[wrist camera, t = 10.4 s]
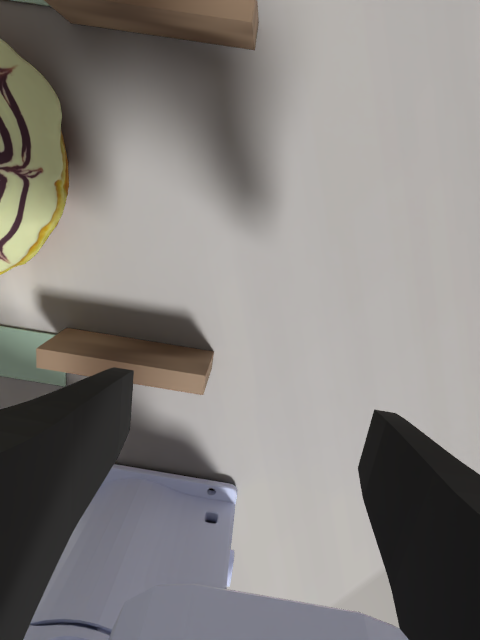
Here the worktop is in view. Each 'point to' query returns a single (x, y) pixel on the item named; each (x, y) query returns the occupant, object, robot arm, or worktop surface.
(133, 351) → the tunnel walls
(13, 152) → the decorated donut
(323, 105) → the worktop surface
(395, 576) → the robot arm
